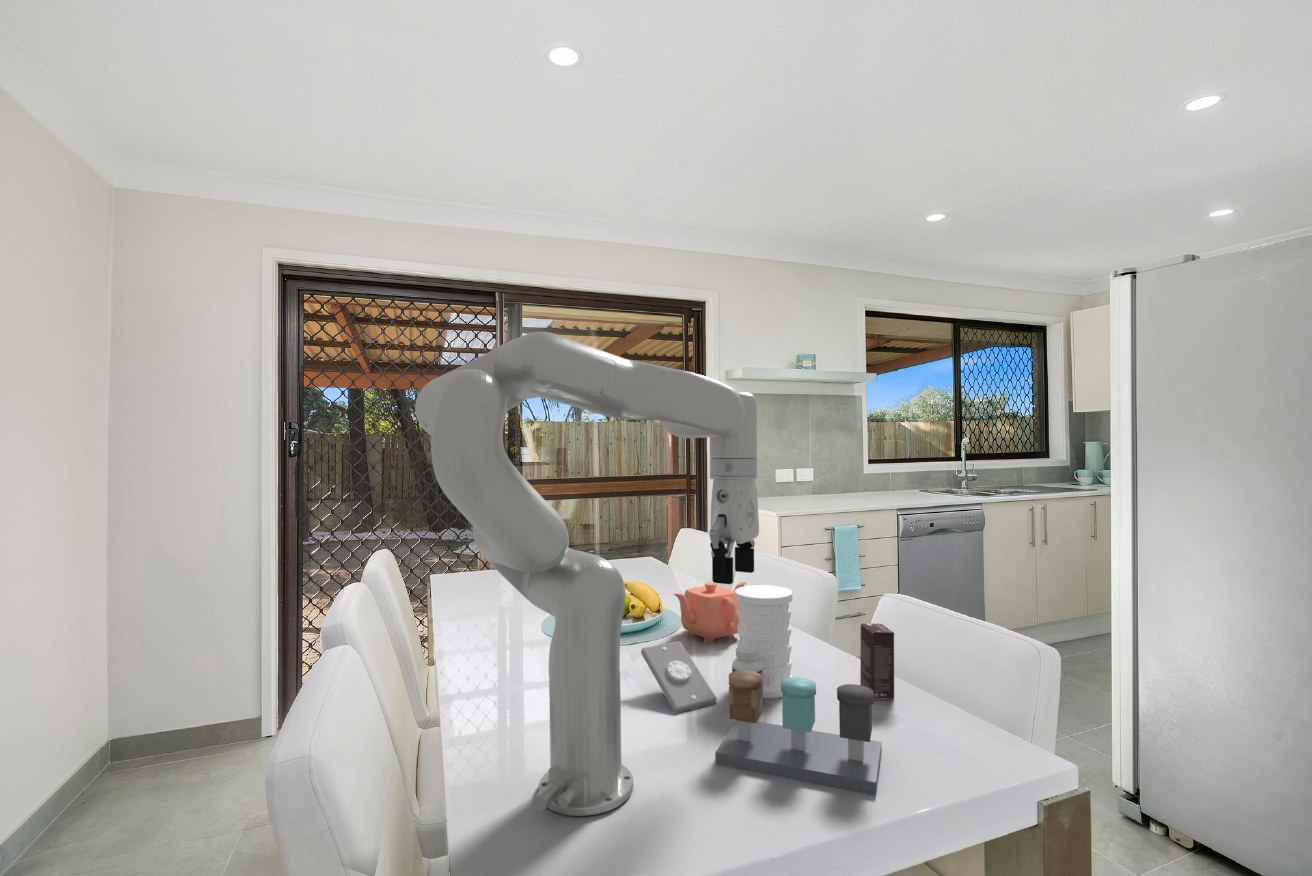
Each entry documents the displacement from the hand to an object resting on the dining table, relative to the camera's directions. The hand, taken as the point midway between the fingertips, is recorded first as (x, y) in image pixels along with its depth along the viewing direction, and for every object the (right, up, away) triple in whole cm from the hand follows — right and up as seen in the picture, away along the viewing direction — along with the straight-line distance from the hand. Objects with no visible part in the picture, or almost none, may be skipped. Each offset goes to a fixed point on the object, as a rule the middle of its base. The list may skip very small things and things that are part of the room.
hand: (734, 577), depth 100 cm
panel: (+9, -25, -8) cm, 27 cm away
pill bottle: (+4, -25, +12) cm, 28 cm away
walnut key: (+1, -20, -5) cm, 21 cm away
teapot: (+1, -26, +51) cm, 57 cm away
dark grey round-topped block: (+16, -20, -11) cm, 28 cm away
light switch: (-8, -26, +16) cm, 31 cm away
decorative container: (+8, -25, +19) cm, 33 cm away
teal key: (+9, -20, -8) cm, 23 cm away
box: (+28, -25, +15) cm, 41 cm away
